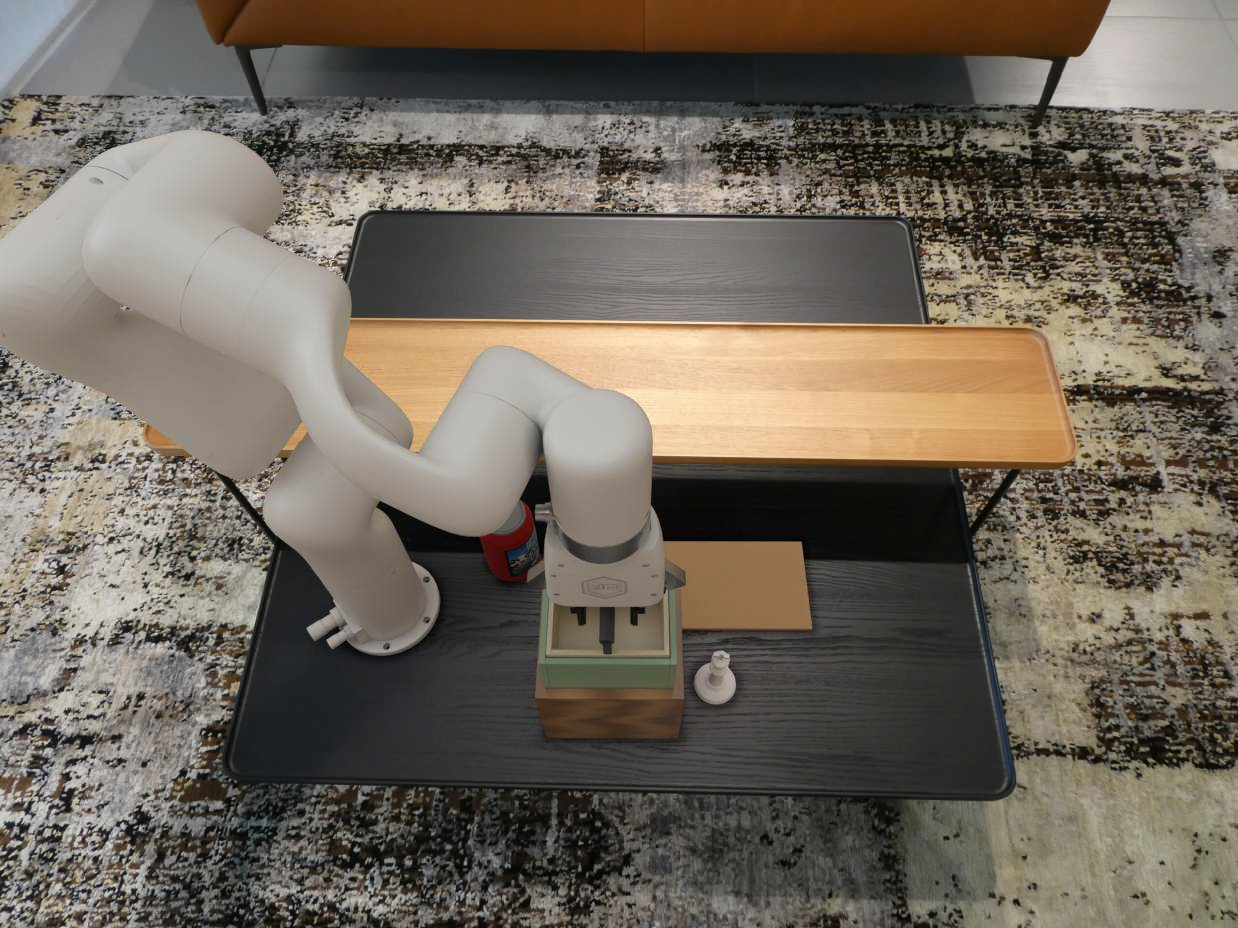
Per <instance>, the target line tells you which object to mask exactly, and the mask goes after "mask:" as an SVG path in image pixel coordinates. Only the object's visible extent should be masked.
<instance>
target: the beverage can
mask: <svg viewBox="0 0 1238 928" xmlns="http://www.w3.org/2000/svg"><path fill="white" fill-rule="evenodd" d="M478 538H479V541H480V543H481V547H482V550H483V554H484V556H485V560H486V562H487V565H488V568H489V570H490V572H491V573H492V574H493V575H494V576H495V577H497V578H498V579H499V580H502V581H506V582H519V581H522V580H525V579H527V573H528V570H530V569H531V568H532V567H534V566H535V565H536V564H538V563H539V562H540V561H541V553H540V547H539V541H538V536H537V530H536V526H535V520H534V516H533V513H532V511H531V508H530V507H529V505H528V504H527V503H526V502H524V501H523V500H522V499H519V501H518V503H517V505H516V507H515V509H514V511H513V512H512V514H511V516H510V517H509V518H508V520H507V521H506V522H505V523H504V524H503V525H502V526H501V527H500V528H499V529H498V530H496V531H494V532H492V533H490V534H487V535H484V536H478Z"/></svg>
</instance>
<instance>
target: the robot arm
mask: <svg viewBox="0 0 1238 928" xmlns="http://www.w3.org/2000/svg"><path fill="white" fill-rule="evenodd" d="M284 202H285V199H284V190H283V186H282V184H281V182H280V180H279V178H278V176H277V175H276V172H274V169H273V168H271V166H270V165H269V164H268V162H266V160H265V159H263V158H262V157H261V156H260V155H259V154H258V153H257V152H256V151H254V150H253V149H251V148H250V147H248V146H246V145H245V144H244V143H242V142H240V141H238V140H235V139H234V138H232V137H229V136H226V135H224V134H221V133H219V132H218V133H217V132H213V131H209V130H201V129H183V130H176V131H171V132H167V133H163V134H160V135H156V136H152V137H148V138H145V139H141V140H137V141H133V142H129V143H124V144H121V145H118V146H115V147H111V148H109V149H107V150H105V151H103V152H102V153H100V154H98V155H97V156H95V157H94V158H92V159H91V160H90V161H89V162H87V163H86V164H85V165H84V166H83V167H81V168H80V169H79V170H78V171H76V173H74V174H73V175H72V176H71V177H70V178H69V179H68V180H66V181H65V183H64V184H62V185H61V186H60V187H59V188H57V190H56V191H55V192H53V193H52V194H51V195H50V196H49V197H47V199H45V200H44V202H42V203H41V204H39V205H38V206H37V207H36V208H34V210H32V211H31V212H30V213H28V214H27V215H26V216H25V217H24V218H23V219H22V220H20V221H19V222H18V224H16V225H15V226H14V227H13V228H12V229H11V230H10V231H9V232H7V234H5V235H4V237H2V238H1V239H0V346H1V347H3V348H4V349H5V350H7V351H8V352H9V353H12V355H14V356H16V357H18V358H20V359H22V360H24V362H27V363H29V364H31V365H33V366H34V367H37V368H40V369H42V370H44V371H47V372H49V373H52V374H54V375H57V376H59V377H62V378H66V379H68V380H69V381H70V380H71V381H73V382H76V383H78V384H80V385H84V386H86V387H88V388H90V389H93V390H94V391H97V392H99V393H101V394H103V395H105V396H107V397H109V398H110V399H112V400H113V401H115V402H117V403H118V404H120V405H121V406H122V407H124V408H125V409H126V410H128V411H130V413H132V414H133V415H135V416H136V417H137V418H139V419H140V420H142V421H143V422H144V423H146V424H147V425H148V426H150V427H151V428H153V429H154V430H156V431H157V432H158V433H160V434H161V435H162V436H163V437H165V438H167V439H168V440H169V441H171V442H172V443H174V444H175V445H177V446H178V447H179V448H181V449H182V450H184V451H185V452H186V453H187V454H189V455H191V456H192V457H193V458H195V459H196V460H198V461H199V462H201V463H202V464H204V465H205V466H207V467H208V468H210V469H212V470H213V471H215V472H217V473H218V474H219V475H222V476H225V477H226V478H227V477H228V478H229V479H234V480H240V481H243V480H250V479H253V478H255V477H257V476H259V475H260V474H262V473H263V472H264V471H265V470H266V469H268V468H269V466H270V465H271V464H272V463H273V462H274V461H275V459H276V458H277V457H278V456H279V455H280V453H281V452H282V450H283V449H284V448H285V446H286V445H287V444H288V442H289V441H290V439H291V438H292V437H293V436H294V434H295V433H296V431H297V430H298V428H299V427H300V426H301V425H302V424H303V426H304V428H305V429H306V432H305V434H304V435H303V437H302V438H301V440H300V441H298V443H297V444H296V446H295V447H294V449H293V450H292V452H291V453H290V454H289V456H288V457H287V459H286V460H285V462H284V463H283V464H282V466H281V467H280V468H279V470H278V472H277V473H276V475H275V476H274V478H273V480H272V482H271V483H270V485H269V487H268V490H267V492H266V494H265V497H264V500H263V505H262V515H263V518H264V522H265V523H266V525H267V526H268V528H269V529H270V530H271V531H272V533H274V534H275V535H276V536H277V537H278V538H279V539H280V540H282V541H283V542H284V543H285V544H287V545H288V546H289V547H290V548H292V549H293V550H294V551H295V552H297V553H298V554H299V555H300V556H301V557H302V558H303V559H304V560H305V562H306V563H307V564H308V565H309V566H310V568H311V570H312V571H313V572H314V573H315V575H316V576H317V578H319V580H320V582H321V583H322V584H323V586H324V587H325V589H326V590H327V591H328V593H329V594H330V596H331V597H332V602H333V603H334V605H335V606H334V607H333V608H332V609H329V614H328V615H326V616H324V617H323V618H321V619H318V620H317V621H315V622H314V623H312V624H310V625H308V626H307V627H306V630H307V632H308V634H309V635H310V637H311V638H312V640H313V641H314V642H316V641H318V640H320V639H321V638H323V637H324V636H326V635H328V634H329V632H331V631H333V630H334V629H336V628H337V627H338V629H339V631H338V632H337V633H335V634H333V635H331V636H330V637H328V638H327V639H326V642H327V644H328V646H329V647H330V649H331V651H332V650H335V649H336V648H337V647H339V646H341V645H342V644H343V643H344V642H345V641H347V643H349V644H350V646H352V647H353V648H354V649H356V650H357V651H359V652H361V653H364V654H367V655H370V656H377V657H378V656H379V657H385V656H393V655H397V654H400V653H403V652H405V651H407V650H410V649H412V648H413V647H414V646H417V644H419V643H420V642H421V641H422V640H423V639H424V638H426V637H427V635H428V634H429V633H430V631H432V629H433V628H434V626H435V624H436V621H437V620H438V617H439V613H440V609H441V596H440V590H439V588H438V585H437V583H436V581H435V579H434V577H433V576H432V575H431V573H430V572H429V570H427V569H426V568H425V567H423V566H422V565H420V564H418V563H416V562H414V561H412V560H411V558H410V556H409V553H408V552H407V550H406V548H405V546H404V543H403V542H402V540H401V537H400V535H399V533H398V531H397V529H396V528H395V526H394V523H393V521H392V520H391V519H390V517H389V516H388V515H387V514H386V513H385V512H384V511H383V510H381V509H380V508H378V504H379V503H380V502H381V503H384V504H386V505H388V506H390V507H392V508H394V509H396V510H398V511H400V512H402V513H404V514H405V515H408V516H411V517H412V518H415V519H417V520H419V521H421V522H423V523H425V524H428V525H429V526H432V527H435V528H437V529H440V530H443V531H445V532H448V533H450V534H454V535H457V536H463V537H479V536H484V535H487V534H490V533H492V532H494V531H496V530H498V529H499V528H500V527H501V526H502V525H503V524H504V523H505V522H506V521H507V520H508V518H509V517H510V516H511V514H512V512H513V511H514V509H515V507H516V505H517V503H518V501H519V500H521V497H522V495H523V494H524V491H525V489H526V487H527V486H528V483H529V481H530V479H531V477H532V476H533V473H534V471H535V469H536V467H537V465H538V463H539V461H540V459H541V458H542V459H544V463H545V469H546V475H547V482H548V488H549V493H550V500H549V502H545V503H542V504H535V506H534V507H535V509H534V516H535V517H534V518H535V519H534V521H535V522H544V523H545V524H547V527H546V532H545V537H544V546H543V559H541V560H539V563H538V564H536V565H535V566H534V567H532V568H531V569H530V570H528V573H527V578H526V585H527V586H529V587H532V588H535V589H539V590H541V591H542V590H544V589H547V594H548V597H549V599H550V600H551V601H552V602H554V603H556V604H558V605H563V606H568V607H570V612H571V614H577V619H578V626H584V624H586V608H587V607H630V624H632V626H638V614H645V607H647V606H650V605H654V604H656V603H658V602H659V601H661V600H662V598H663V594H665V593H666V590H673V589H676V588H679V587H683V586H685V585H686V572H685V571H684V570H683V569H681V568H680V567H678V566H677V565H675V564H674V563H673V562H671V561H670V560H668V559H667V558H665V557H664V544H663V541H664V537H663V531H662V527H661V524H660V520H659V517H658V515H657V513H656V511H655V509H654V508H653V506H652V504H651V503H652V484H653V483H652V481H653V453H654V437H653V427H652V425H651V421H650V419H649V417H648V415H647V414H646V411H645V410H644V408H642V406H641V405H640V404H639V402H637V401H635V399H633V398H631V397H630V396H628V395H627V394H624V393H622V392H620V391H618V390H613V389H609V388H599V387H597V388H594V387H593V386H590V385H589V384H586V383H584V382H582V381H581V380H578V379H576V378H575V377H573V376H571V375H570V374H567V373H566V372H564V371H563V370H561V369H559V368H558V367H556V366H554V365H553V364H550V363H548V362H547V361H546V360H544V359H542V358H540V357H538V356H536V355H535V354H534V353H532V352H529V351H527V350H525V349H521V348H518V347H515V346H511V345H500V344H499V345H493V346H490V347H488V348H486V349H484V350H483V351H481V353H480V354H479V355H477V357H476V358H475V359H474V361H473V362H472V363H471V365H470V367H469V368H468V370H467V371H466V373H465V375H464V377H463V378H462V380H461V382H460V383H459V385H458V387H457V388H456V390H455V392H454V393H453V395H452V397H451V398H450V400H449V401H448V402H447V404H446V406H445V408H444V409H443V411H442V412H441V414H440V416H439V417H438V419H437V421H436V422H435V424H434V425H433V428H432V429H431V430H430V432H429V434H428V436H427V437H426V439H425V440H424V442H423V443H422V445H421V447H420V448H419V450H418V452H415V451H414V450H411V447H412V445H413V442H414V436H415V434H414V427H413V424H412V422H411V420H410V419H409V417H408V415H407V414H406V413H405V411H404V410H403V409H402V408H401V407H400V406H399V405H398V404H397V403H396V402H395V401H394V400H393V399H392V398H391V397H389V396H388V394H386V393H385V392H384V391H383V390H382V389H381V388H380V387H379V386H378V385H376V384H375V383H374V382H373V381H372V380H371V379H370V378H369V377H367V375H366V374H364V373H363V372H362V371H361V370H360V369H359V368H358V367H356V366H355V365H354V364H353V363H352V362H351V361H350V360H349V359H348V358H347V357H345V356H344V355H345V351H346V345H347V341H348V335H349V330H350V326H351V318H352V311H353V310H352V308H353V307H352V306H353V305H352V295H351V291H350V288H349V286H348V284H347V282H346V281H345V280H344V279H343V278H342V277H341V276H340V275H338V274H337V273H335V272H334V271H331V270H329V269H327V268H326V267H323V266H321V265H319V264H316V263H315V262H313V261H311V260H309V259H307V258H304V257H303V256H301V255H298V254H297V253H295V252H294V251H293V252H292V251H291V250H288V249H287V248H285V247H283V246H281V245H279V244H277V243H275V242H272V241H271V240H269V239H268V238H265V237H263V236H264V235H265V234H266V232H268V230H269V229H270V228H271V227H272V226H273V224H274V223H275V222H277V219H278V218H279V217H280V215H281V213H282V211H283V207H284V204H285V203H284ZM123 307H125V308H128V309H122V308H123Z"/></svg>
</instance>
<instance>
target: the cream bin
mask: <svg viewBox="0 0 1238 928" xmlns="http://www.w3.org/2000/svg"><path fill="white" fill-rule="evenodd" d="M546 656H547V658H648V659H669V656H670V649H669V608H668V590H666V593H665V594H663V598H662V600H661V601H659V602H658V603H656V604H654V605H650V606H647V607H645V614H638V626H632V624H630V607H587V608H586V624H584V626H578V619H577V614H571V612H570V607H568V606H563V605H558V604H556V603H554V602H552V601H551V600H550V599H549V612H548V628H547V645H546Z"/></svg>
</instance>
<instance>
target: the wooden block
mask: <svg viewBox="0 0 1238 928" xmlns="http://www.w3.org/2000/svg"><path fill="white" fill-rule="evenodd" d="M540 596H541V597H540V611H539V612H540V613H539V626H538V640H537V641H538V642H537V656H536V669H535V670H536V671H535V687H534V701H535V704H536V707H537V709H538V710H537V711H538V714H539V718H540V721H541V723H542V727H543V730H544V734H545V736H546V738H547V739H666V740H667V739H679V737H680V736H679V735H680V729H681V724H682V723H681V722H682V716H683V711H684V710H683V709H684V704H685V678H684V675H685V674H684V646H683V630H682V613H681V590H680V589H675V611H676V645H677V669H676V677H675V685H674V689H552V688H545V686H544V682H543V678H542V674H541V671H540V667H539V650H540V635H541V620H542V604H543V590H542V589H541V595H540Z"/></svg>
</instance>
